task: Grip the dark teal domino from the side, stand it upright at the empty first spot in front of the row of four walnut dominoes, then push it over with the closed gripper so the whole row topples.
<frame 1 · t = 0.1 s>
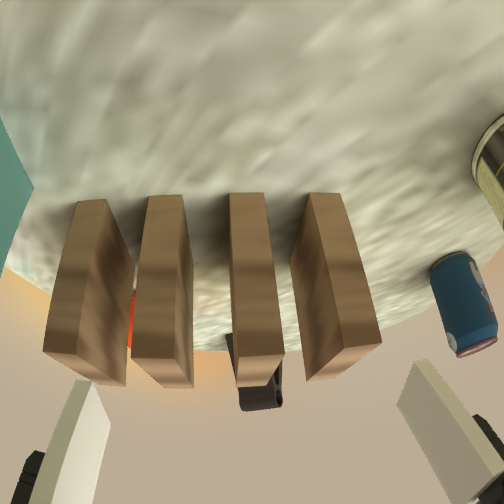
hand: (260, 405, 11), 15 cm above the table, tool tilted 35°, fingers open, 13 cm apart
walnut domino 3: (174, 235, 27), on the table
phone stand: (255, 336, 51), on the table
soda can: (449, 262, 36), on the table
walnut domino 5: (311, 232, 28), on the table
walnut domino 4: (243, 233, 27), on the table
walnut domino 2: (109, 238, 26), on the table
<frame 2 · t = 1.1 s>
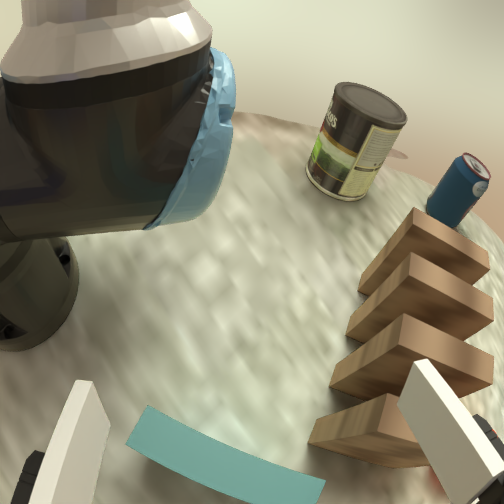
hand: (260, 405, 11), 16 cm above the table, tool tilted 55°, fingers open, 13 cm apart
walnut domino 3: (374, 391, 28), on the table
teal domino: (213, 460, 22), on the table
soda can: (438, 216, 47), on the table
walnut domino 5: (394, 299, 35), on the table
walnut domino 4: (386, 342, 32), on the table
walnut domino 2: (357, 446, 25), on the table
coffee can: (337, 178, 47), on the table
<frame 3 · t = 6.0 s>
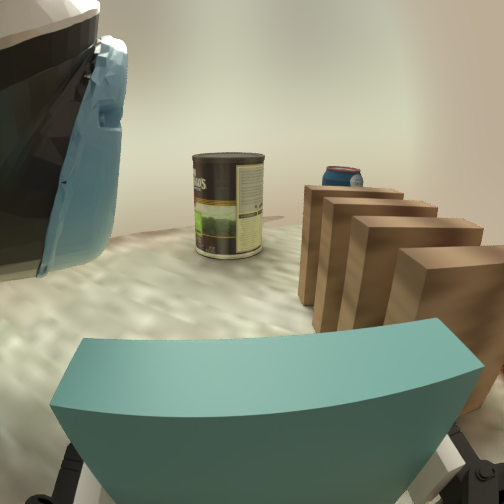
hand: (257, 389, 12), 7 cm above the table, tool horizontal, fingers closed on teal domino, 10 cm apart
walnut domino 3: (390, 364, 23), on the table
soda can: (338, 237, 55), on the table
walnut domino 5: (343, 297, 34), on the table
walnut domino 4: (364, 326, 29), on the table
walnut domino 2: (423, 415, 18), on the table
coffee can: (229, 248, 49), on the table
when the fingers open (8 cm above the table, at t = 11.5 s): teal domino stays where it is, on the table.
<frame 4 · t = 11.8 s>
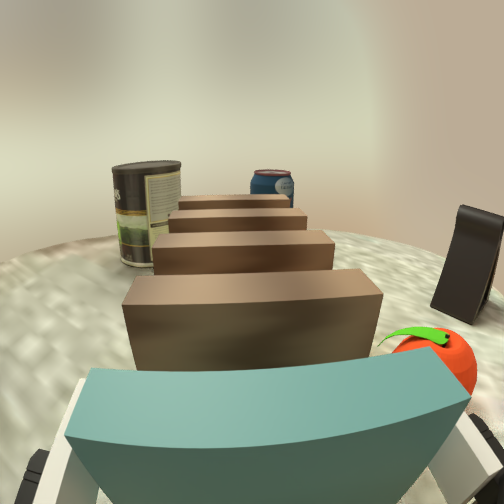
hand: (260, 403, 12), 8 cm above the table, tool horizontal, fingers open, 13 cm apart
walnut domino 3: (244, 391, 22), on the table
phone stand: (460, 304, 33), on the table
soda can: (270, 244, 54), on the table
walnut domino 5: (235, 310, 34), on the table
clementine: (408, 410, 20), on the table
walnut domino 4: (238, 344, 28), on the table
walnut domino 2: (251, 455, 17), on the table
coffee can: (152, 256, 48), on the table
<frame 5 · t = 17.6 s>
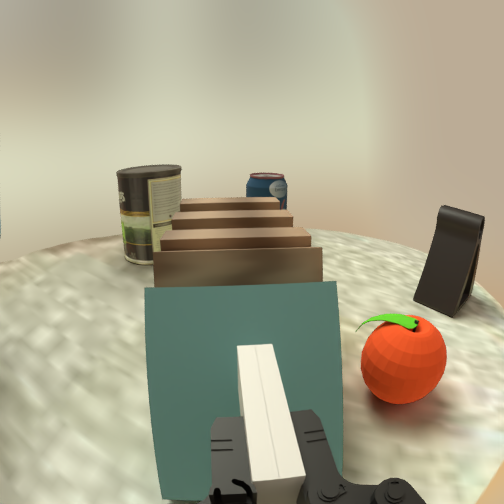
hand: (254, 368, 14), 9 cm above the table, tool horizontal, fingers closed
walnut domino 3: (238, 371, 26), on the table
phone stand: (443, 299, 37), on the table
teal domino: (251, 489, 15), point 1 cm above the table, tilted 35°, touching walnut domino 2
soda can: (265, 243, 57), on the table
walnut domino 5: (231, 302, 37), on the table
clementine: (386, 391, 23), on the table
walnut domino 4: (234, 332, 31), on the table
walnut domino 2: (243, 421, 20), on the table, tilted 19°, touching teal domino
coffee can: (155, 254, 52), on the table
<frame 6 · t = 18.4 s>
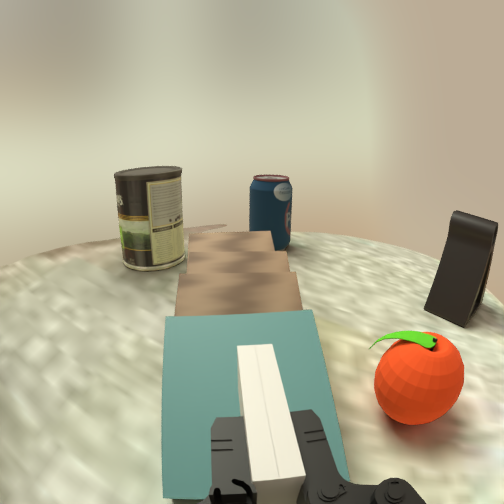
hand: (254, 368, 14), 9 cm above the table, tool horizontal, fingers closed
walnut domino 3: (240, 364, 25), point 1 cm above the table, tilted 67°, touching walnut domino 4
phone stand: (454, 307, 35), on the table
teal domino: (257, 496, 14), point 1 cm above the table, tilted 66°
soda can: (269, 247, 55), on the table
clementine: (399, 409, 21), on the table
walnut domino 4: (236, 319, 31), point 1 cm above the table, tilted 67°, touching walnut domino 3, walnut domino 5
walnut domino 2: (242, 415, 20), point 1 cm above the table, tilted 66°
coffee can: (154, 259, 50), on the table
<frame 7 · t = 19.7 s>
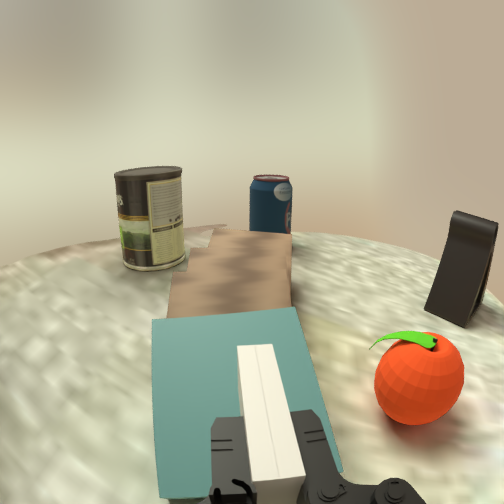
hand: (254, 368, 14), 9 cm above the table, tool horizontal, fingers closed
walnut domino 3: (235, 355, 26), point 1 cm above the table, tilted 67°, touching walnut domino 2, walnut domino 4
phone stand: (454, 308, 35), on the table
teal domino: (252, 492, 14), point 1 cm above the table, tilted 67°, touching walnut domino 2
soda can: (269, 247, 55), on the table
clementine: (399, 409, 21), on the table
walnut domino 4: (240, 310, 33), point 1 cm above the table, tilted 71°, touching walnut domino 3, walnut domino 5
walnut domino 2: (231, 407, 20), point 1 cm above the table, tilted 67°, touching teal domino, walnut domino 3
coffee can: (154, 259, 50), on the table
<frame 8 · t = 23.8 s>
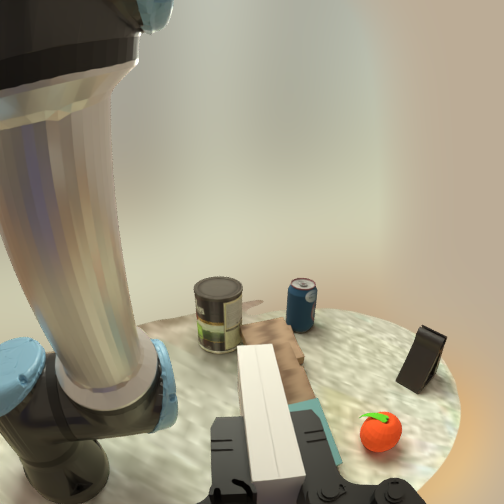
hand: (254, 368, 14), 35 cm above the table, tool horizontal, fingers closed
walnut domino 3: (286, 405, 51), point 1 cm above the table, tilted 67°, touching walnut domino 2
phone stand: (416, 378, 57), on the table
teal domino: (309, 474, 37), point 1 cm above the table, tilted 70°, touching walnut domino 2
soda can: (299, 326, 78), on the table
clementine: (372, 443, 43), on the table
walnut domino 4: (280, 366, 60), point 2 cm above the table, tilted 79°
walnut domino 2: (296, 435, 45), point 1 cm above the table, tilted 68°, touching teal domino, walnut domino 3
coffee can: (220, 341, 72), on the table
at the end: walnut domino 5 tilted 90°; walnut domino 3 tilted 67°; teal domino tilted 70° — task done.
